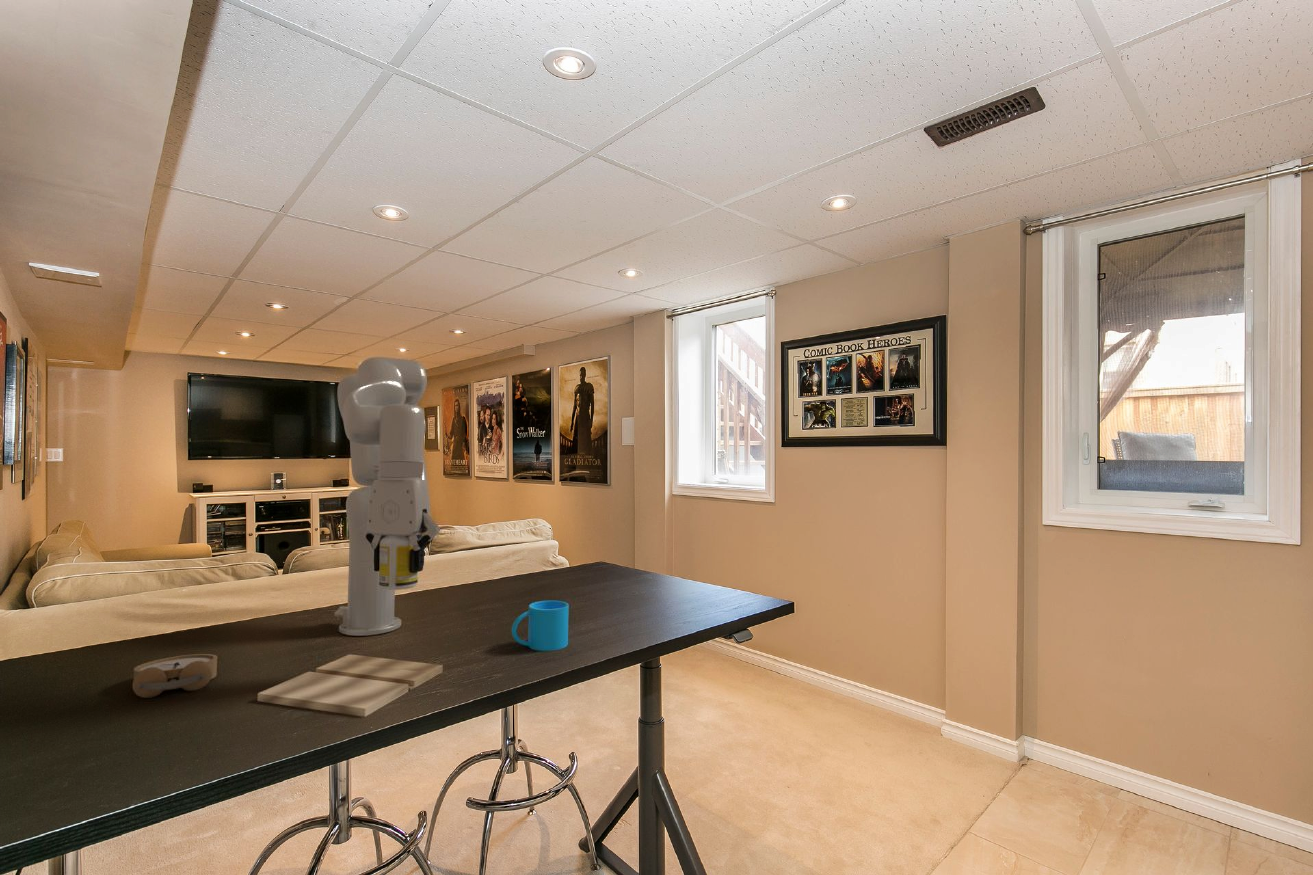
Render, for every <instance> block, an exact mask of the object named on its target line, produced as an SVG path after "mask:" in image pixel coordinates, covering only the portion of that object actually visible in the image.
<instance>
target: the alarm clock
mask: <svg viewBox="0 0 1313 875" xmlns="http://www.w3.org/2000/svg"><path fill="white" fill-rule="evenodd" d="M218 658H219V657H218V656H217V655H216V654H213V653H212V654H211V653H198V654H197V653H196V654H195V653H194V654H186V655H185V654H184V655H177V656H171V657H166V658H160V659H155V660H152V661H148V662H145V663H142V664H139V665H137V666H135V667H133V681H132V690H133V692H134V694H135V695H136V696H137V697H140V698H143V699H150V698H155V697H157V696H159V695H161V693H163V692H164V691H169V690H177V689H182V690H184V691H186V692H187V691H189V692H193V691H198V690H201V689H202V688H203V689H204V687H205V686H207V685H208V684H209V683H210V681H211V680H212V679H214V678H216V677H217V675H218V673H217V669H218V667H217V666H218Z"/></svg>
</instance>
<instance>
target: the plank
mask: <svg viewBox="0 0 1313 875" xmlns="http://www.w3.org/2000/svg"><path fill="white" fill-rule="evenodd" d="M408 692H409V690H408V684H402V683H394V682H386V681H378V680H370V679H362V678H355V677H347V676H339V675H331V674H323V673H316V671H315V672H314V671H313V672H312V671H307V672H304V673H301V674H300V675H298V676H296V677H293V678H290V679H288V680H285V681H283V682H282V683H279V684H276V685H274V686H272V687H269V688H267V689H265V690H262V691H260V692H258V693H257V702H263V703H269V704H276V705H280V706H281V705H283V706H289V707H296V708H303V709H308V710H309V709H310V710H315V711H316V710H318V711H322V712H324V711H325V712H330V713H337V714H343V715H344V714H345V715H350V716H351V715H352V716H358V717H368V716H369V715H371V714H373V713H375V712H376V711H377V710H379V709H381V708H382V707H384V706H386V705H388V704H390V703H391V702H393V701H395V700H397V699H398V698H400V697H401V696H403V695H405V694H406V693H408Z"/></svg>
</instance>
